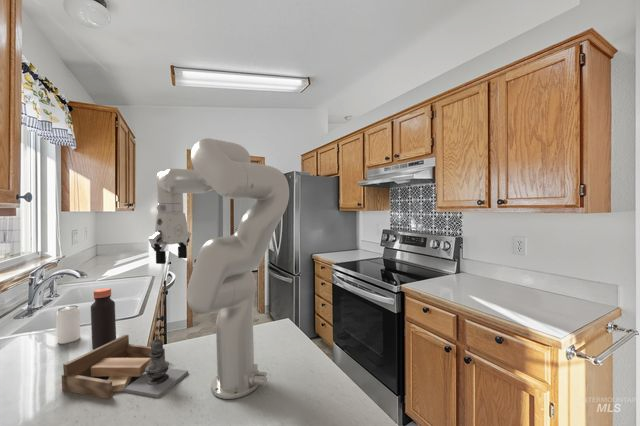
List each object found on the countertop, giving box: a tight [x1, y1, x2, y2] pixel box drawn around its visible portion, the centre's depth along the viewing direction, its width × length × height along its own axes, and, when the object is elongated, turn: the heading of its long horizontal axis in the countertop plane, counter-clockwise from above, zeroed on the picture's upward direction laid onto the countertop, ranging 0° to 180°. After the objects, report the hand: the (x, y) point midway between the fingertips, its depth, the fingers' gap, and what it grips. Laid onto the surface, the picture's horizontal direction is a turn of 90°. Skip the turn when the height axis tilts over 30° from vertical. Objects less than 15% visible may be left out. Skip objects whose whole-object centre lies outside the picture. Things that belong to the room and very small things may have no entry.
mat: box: [123, 367, 189, 399], centre depth 80 cm, size 11×11×1 cm
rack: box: [61, 334, 166, 400], centre depth 85 cm, size 16×18×7 cm
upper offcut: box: [91, 358, 151, 377], centre depth 83 cm, size 5×14×2 cm, turn 87°
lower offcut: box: [107, 376, 133, 393], centre depth 83 cm, size 5×14×2 cm, turn 19°
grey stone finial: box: [145, 336, 171, 385], centre depth 80 cm, size 6×6×12 cm
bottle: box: [90, 287, 117, 350], centre depth 102 cm, size 7×7×20 cm
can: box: [55, 305, 81, 345], centre depth 107 cm, size 6×6×12 cm
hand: (172, 260), depth 97 cm, fingers open, 9 cm apart
